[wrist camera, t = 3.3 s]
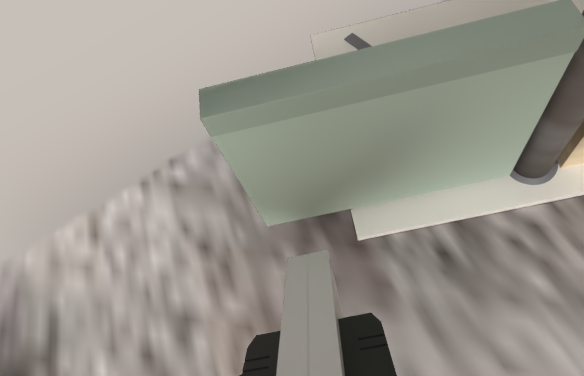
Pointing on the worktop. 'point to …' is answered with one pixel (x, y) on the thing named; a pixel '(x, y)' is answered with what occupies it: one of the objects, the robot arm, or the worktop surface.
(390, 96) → the hinged fence section
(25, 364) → the worktop surface
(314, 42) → the card
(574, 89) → the fixed fence section
